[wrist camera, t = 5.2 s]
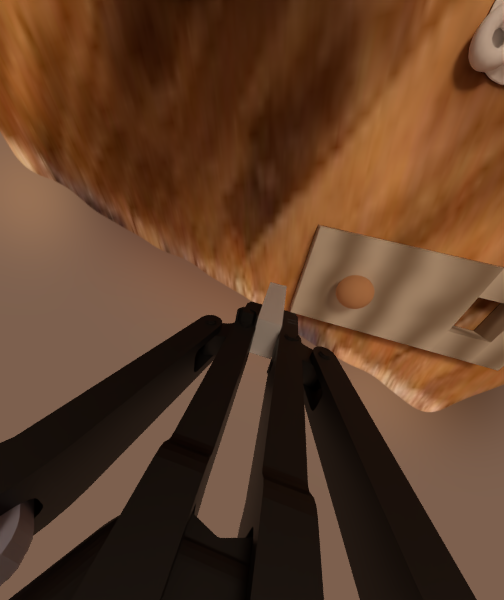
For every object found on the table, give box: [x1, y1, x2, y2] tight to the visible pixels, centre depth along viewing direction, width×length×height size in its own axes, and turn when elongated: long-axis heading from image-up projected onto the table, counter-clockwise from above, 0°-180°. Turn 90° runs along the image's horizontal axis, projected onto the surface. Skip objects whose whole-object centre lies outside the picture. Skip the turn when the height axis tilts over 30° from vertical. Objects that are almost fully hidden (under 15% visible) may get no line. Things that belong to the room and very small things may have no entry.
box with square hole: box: [291, 225, 504, 370], centre depth 24 cm, size 28×12×2 cm, turn 79°
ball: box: [336, 275, 375, 309], centre depth 22 cm, size 4×4×4 cm
